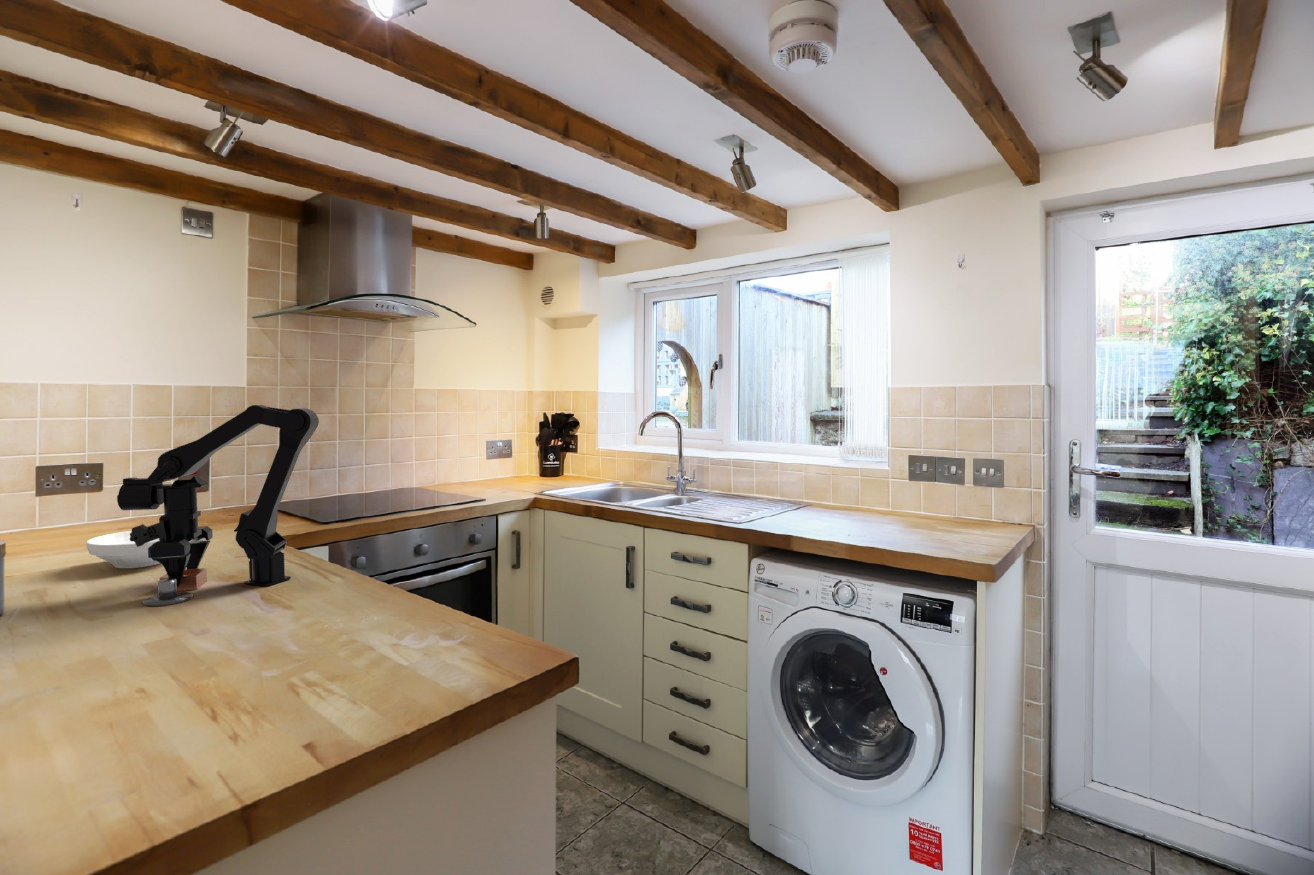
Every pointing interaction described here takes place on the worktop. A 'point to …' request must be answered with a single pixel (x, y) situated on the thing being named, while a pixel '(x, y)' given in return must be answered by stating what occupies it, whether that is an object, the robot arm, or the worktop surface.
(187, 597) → the disc with centre peg
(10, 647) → the worktop surface
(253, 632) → the worktop surface
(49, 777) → the worktop surface
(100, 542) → the bowl
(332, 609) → the worktop surface
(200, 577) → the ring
